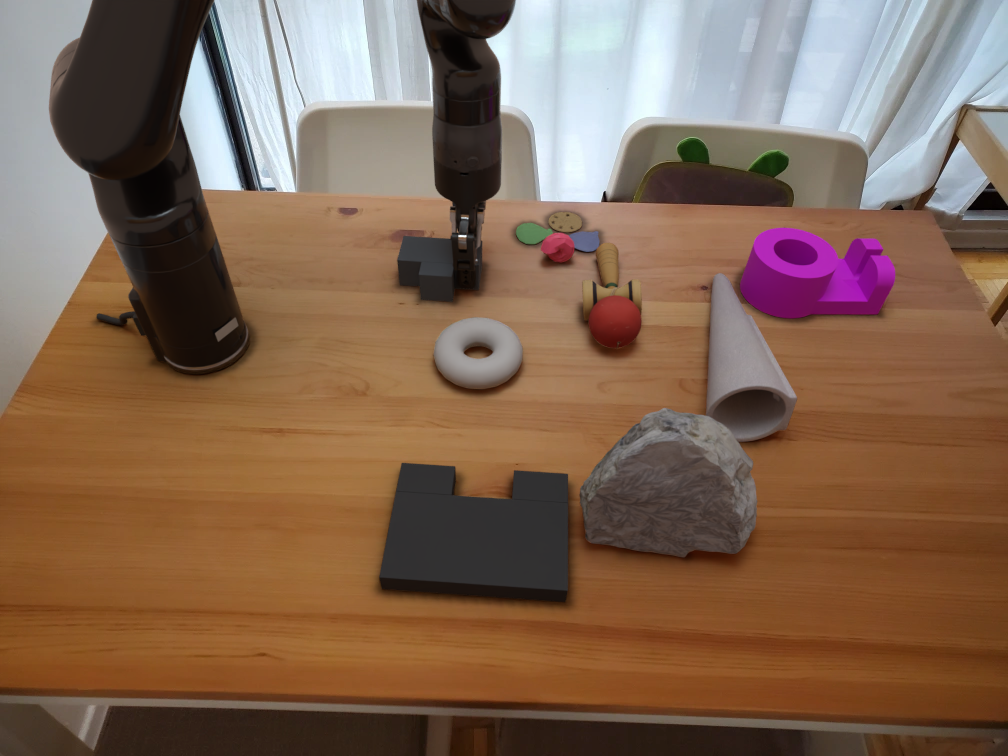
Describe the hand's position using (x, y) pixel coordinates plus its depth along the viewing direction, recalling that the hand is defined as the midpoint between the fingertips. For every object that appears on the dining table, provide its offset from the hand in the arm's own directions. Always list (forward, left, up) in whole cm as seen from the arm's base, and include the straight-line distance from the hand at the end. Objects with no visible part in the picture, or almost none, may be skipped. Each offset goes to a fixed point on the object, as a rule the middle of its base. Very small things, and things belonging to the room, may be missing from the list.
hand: (469, 271), depth 91 cm
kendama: (+17, -4, -1) cm, 18 cm away
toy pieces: (+11, +9, -1) cm, 15 cm away
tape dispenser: (+42, +1, -1) cm, 43 cm away
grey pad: (-4, -1, -1) cm, 4 cm away
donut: (+2, -15, -1) cm, 15 cm away
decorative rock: (+21, -35, -1) cm, 41 cm away
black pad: (+4, -37, -1) cm, 37 cm away
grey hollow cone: (+29, -11, -1) cm, 31 cm away
